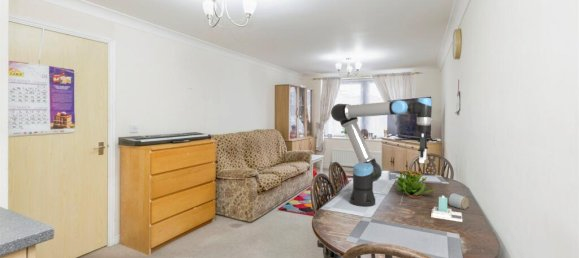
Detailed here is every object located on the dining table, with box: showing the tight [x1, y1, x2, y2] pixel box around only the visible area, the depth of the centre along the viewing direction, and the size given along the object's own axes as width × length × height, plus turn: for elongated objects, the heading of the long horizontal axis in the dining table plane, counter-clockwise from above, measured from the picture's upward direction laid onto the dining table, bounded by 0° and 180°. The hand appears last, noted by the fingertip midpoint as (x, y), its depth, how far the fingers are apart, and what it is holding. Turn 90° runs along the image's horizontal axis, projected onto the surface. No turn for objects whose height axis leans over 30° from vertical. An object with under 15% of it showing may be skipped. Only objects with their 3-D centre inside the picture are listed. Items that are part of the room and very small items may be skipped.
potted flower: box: [392, 169, 436, 199], centre depth 192 cm, size 25×24×18 cm
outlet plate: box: [430, 206, 463, 223], centre depth 155 cm, size 14×12×3 cm
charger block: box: [438, 195, 448, 212], centre depth 156 cm, size 4×4×9 cm
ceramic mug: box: [448, 192, 470, 210], centre depth 170 cm, size 11×8×8 cm
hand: (422, 161), depth 169 cm, fingers open, 13 cm apart
